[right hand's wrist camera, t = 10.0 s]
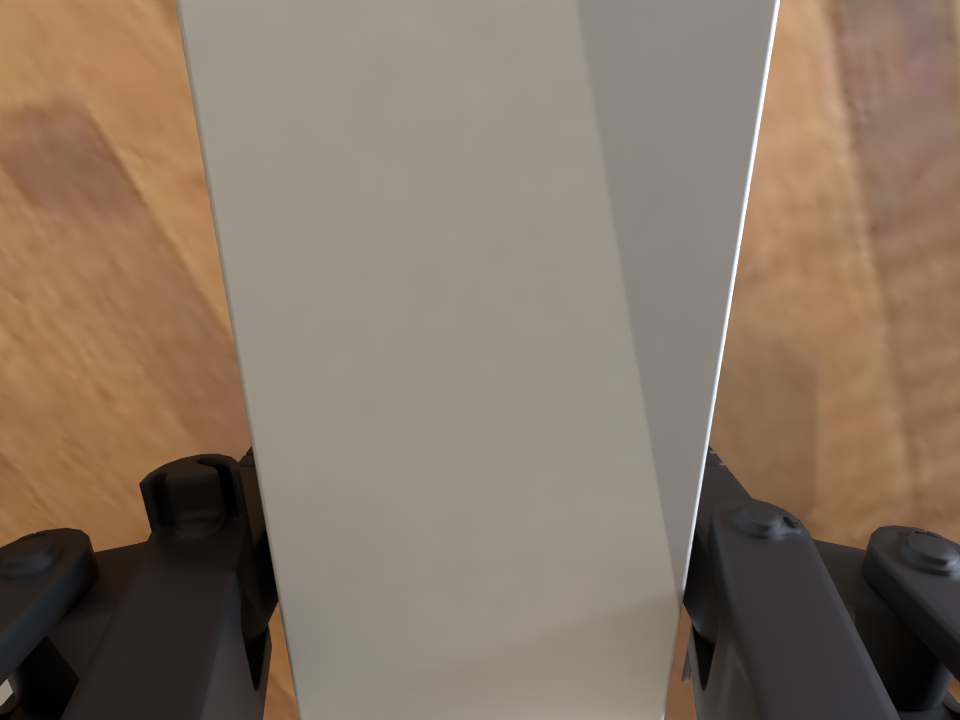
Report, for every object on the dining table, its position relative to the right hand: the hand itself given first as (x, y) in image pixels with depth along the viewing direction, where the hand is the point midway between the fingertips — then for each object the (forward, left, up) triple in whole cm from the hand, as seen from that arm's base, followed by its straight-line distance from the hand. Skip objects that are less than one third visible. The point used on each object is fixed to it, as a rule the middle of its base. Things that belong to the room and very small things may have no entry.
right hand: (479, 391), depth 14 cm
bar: (-2, -22, -1) cm, 22 cm away
